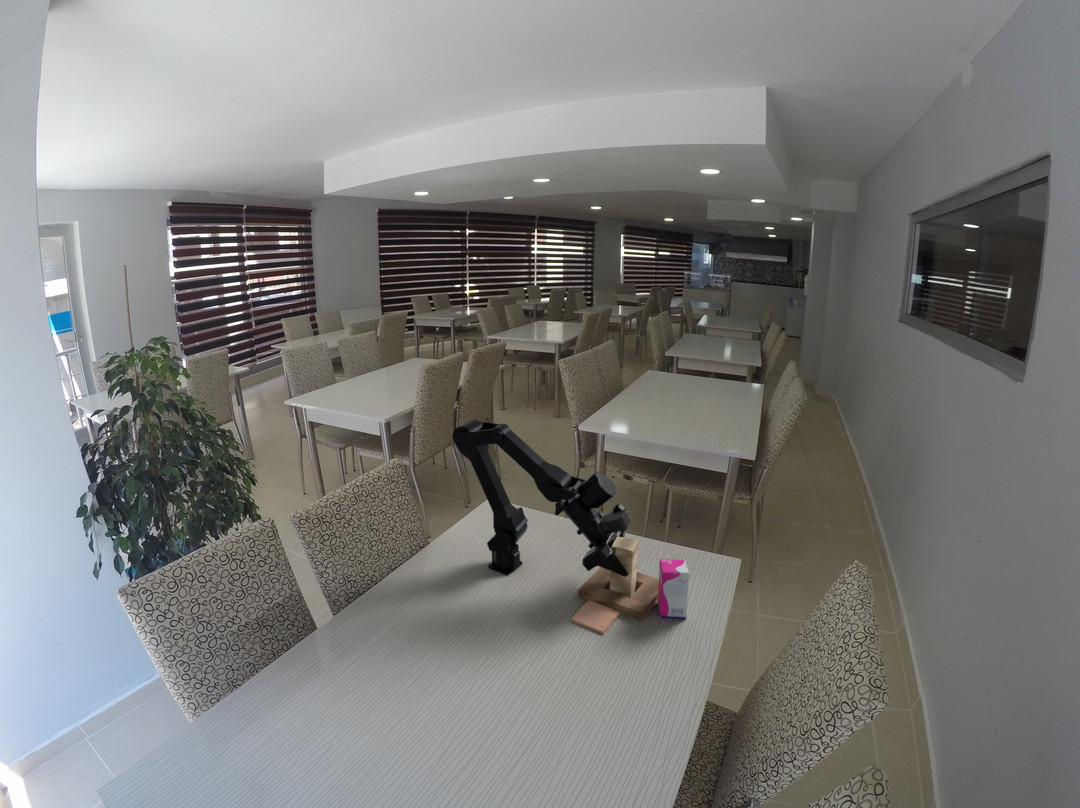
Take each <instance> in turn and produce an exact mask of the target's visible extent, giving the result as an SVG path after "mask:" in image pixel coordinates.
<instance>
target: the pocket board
mask: <svg viewBox="0 0 1080 808" xmlns="http://www.w3.org/2000/svg"><path fill="white" fill-rule="evenodd" d="M658 586H659V578H656V577H653V576H650V575H648V574H644V573H642V572H638V571H637V574H636V589H637V590H635V592H634V594H633V595H632V597H631V598H629V597H626V596H623V595H621V594H618V593H615V592H612V591H610V570H608V569H605V568H602V567H599V568H598V569H597V570H596V571H595V572H594V573H593V574H592V575H591V576H590V577H589V578H588V579H586V581H585V582H584V583H583V584H582V585H581V586H580V587H579V588H578V589H577V590H578V595H577V596H578V598H581V599H584V600H586V601H588V600H590V601H593V602H596V603H598V604H601V605H604V606H606V607H609V608H611V609H614V610H617V611H619V612H620V614H622V615H626V616H628V617H631V618H633V619H636V620H639V621H640V622H643V620H644V619H645V618H646V617H647V615H648V614H649V613H650V611H651V610H652V609H653V607H654V606H655V604H656V603H658Z"/></svg>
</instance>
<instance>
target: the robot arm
mask: <svg viewBox="0 0 1080 808" xmlns="http://www.w3.org/2000/svg"><path fill="white" fill-rule="evenodd" d="M451 437H452V438H451V439H452V442H453V443H454V445H455V446H456V448H457V449H458V451H459V453H460V455H462V456H464V457H465V459H467V460H468V461H469V462H470V463H471V467H472V468H473V471H474V472H475V473H474V474H475V475H476V478H477V480H478V482H479V484H480V486H481V488H482V490H483V493H484V495H485V498H486V500H487V502H488V504H489V507H490V509H491V512H492V515H493V517H492V519H493V521H492V523H493V525H492V526H493V530H494V533H495V534H494V535H493V536H492V537H491V538H490V539H489V540H488V541H487V542H486V545H487V547H488V550H489V552H491V563H489V564H488V567H487V568H488V569H491V570H493V571H496V572H498V573H501V574H503V575H506V576H509V575H511V574H512V573H513V572H514V571H516V569H518V568H519V567H520V566H522V565H523V561H522V560H521V552H520V549H519V544H517V543H518V541H519V540H520V539H521V538H522V537H523V536H524V534H525V533H526V532H527V529H528V521H529V519H528V518H527V517H526V515H525V513H524V510H523V508H522V507H518V508H517V507H516V506H514V505H513V504H512V503H511V500H510V499H509V497H508V495H507V492H506V489H505V488H504V485H503V483H502V481H501V479H500V475H499V474H498V471H497V470H496V467H495V464H494V463H493V460H492V457H491V456H490V454H489V445H497V446H498V447H499V448H500V449H501V450H502V451H503V452H504V453H505V454H507V456H509V457H510V459H512V460H513V461H514V462H515V463H516V464H517V465H519V467H521V468H522V470H524V471H525V472H526V474H527V473H528V475H529V476H530V477H531V478H532V479H533V482H534V484H535V486H536V488H537V489H538V491H539V492H540V493H541V495H542V496H543V497H544V498H545V499H546V500H547V501H548V502H551V503H555V505H554V506H555V509H554V510H555V512H554V515H555V516H558V515H560V514H561V513H562V512H563V513H564V514H565V515H566V517H567V518H568V519H569V520H570V521H571V522H572V523H573V524H574V526H575V527H576V528H577V531H576V534H577V535H578V536H580V535H583V536H584V537H585V538H586V539H587V540H588V542H589V543H588V545H587V546H588V548H590V550H588V551H587V552H586V553H585V555H584V557H583V558H582V566H583V567H584V569H586V570H587V572H590V571H591V570H593V569H594V568H596V567H599V568H600V567H602V568H605V569H608V570H610V571H612V572H615V573H617V574H619V575H621V576H624V577H626V576H628V572H627V571H626V569H625V568H624V566H623V565H622V564H621V562H620V561H619V560H618V558H617V557H616V548H615V547H614V548H613V549H612V550H611V546H612V545H613V543H614V541H615V539H616V538H617V536H618V537H623V538H626V537H625V536H626V531H627V530H628V528H629V525H630V524H632V522H631V519H630V518H629V515H630V511H629V510H627V508H626V507H624V506H623V505H622V504H621V503H618V504H615V505H614V507H613V508H612V511H610V512H609V513H608V514H605V513H604V512H602V511H601V510H598V511H596V510H595V509H599V508H600V507H602V506H603V505H604V504H605V503H607V502H608V501H610V500H611V499H612V498H614V497H615V496H616V495H617V487H616V485H615V483H614V482H613V481H612V479H611V478H608V476H606V475H604V474H600V473H599V472H598V471H597V470H596V471H594V472H593V473H592V475H590V476H589V478H587V479H584V478H580V477H577V476H573V475H571V474H570V473H568V472H567V471H565V470H564V469H562V468H561V467H560V466H557V465H555V464H552V463H550V462H547V461H546V460H544V458H542V457H541V456H540V455H539V454H538V453H537V452H536V451H535V450H534V449H533V448H531V447H530V446H529V445H528V444H527V443H526V442H525V441H523V440H522V438H520V437H519V436H518V435H517V434H516V433H515V432H514V431H513V430H512V429H511V427H510V426H509V425H508V424H507V423H496V422H492V421H480V420H477V419H473V418H472V419H469V420H468V421H465V422H464V423H462V424H460V425H459V426H458V427H456V428H455V429H454V430H453V433H452V436H451Z"/></svg>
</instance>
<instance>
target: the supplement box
mask: <svg viewBox="0 0 1080 808" xmlns="http://www.w3.org/2000/svg"><path fill="white" fill-rule="evenodd" d="M658 567H659V570H658V579H659V586H658V601H657V607H658V612H659V613H658V614H659V618H661V619H678V620H687V613H688V611H687V610H688V600H689V599H688V598H689V597H688V593H689V582H690V581H689V580H690V571H689V568H688V566H687V562H686V560H685V559H668V558H660V559H659V566H658Z"/></svg>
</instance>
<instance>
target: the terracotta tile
mask: <svg viewBox="0 0 1080 808" xmlns="http://www.w3.org/2000/svg"><path fill="white" fill-rule="evenodd" d="M620 615H621V613H620V612H619V611H617V610H614V609H611V608H609V607H606V606H604V605H601V604H598V603H596V602H593V601H590V600H586V602H585V603H584V604H583V605H582V606H581V607H580V609H578V610H577V611H576V612H575V614H574V615H573V616H572V617H571V618H570V621H571V622H573V623H575V624H577V625H580V626H582V627H584V628H587V629H590V630H592V631H595V632H597V633H599V634H602V635H604V634H605V633H606V632H607V631H608V630H609V628H610V627H611V626H612V625H613V624H614V623H615V621H616V620H617V619H618V618H619V616H620Z"/></svg>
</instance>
